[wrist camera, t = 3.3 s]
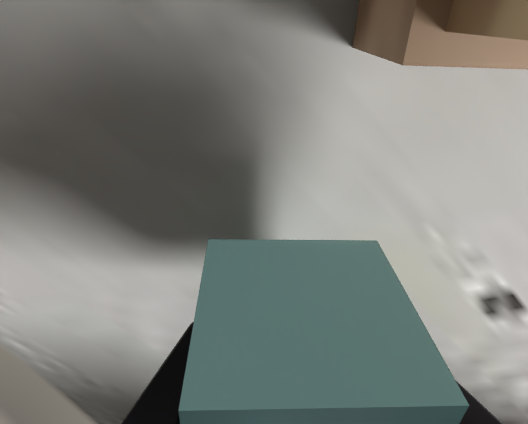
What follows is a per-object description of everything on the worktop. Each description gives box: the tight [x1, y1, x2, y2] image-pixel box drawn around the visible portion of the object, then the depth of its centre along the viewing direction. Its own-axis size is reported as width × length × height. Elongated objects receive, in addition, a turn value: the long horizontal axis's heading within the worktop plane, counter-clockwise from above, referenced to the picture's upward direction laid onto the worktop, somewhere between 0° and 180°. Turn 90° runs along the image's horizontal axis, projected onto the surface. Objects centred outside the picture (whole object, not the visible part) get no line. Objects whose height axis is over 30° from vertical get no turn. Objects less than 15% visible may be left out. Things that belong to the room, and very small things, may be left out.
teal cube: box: [178, 239, 469, 424], centre depth 8 cm, size 4×4×4 cm
